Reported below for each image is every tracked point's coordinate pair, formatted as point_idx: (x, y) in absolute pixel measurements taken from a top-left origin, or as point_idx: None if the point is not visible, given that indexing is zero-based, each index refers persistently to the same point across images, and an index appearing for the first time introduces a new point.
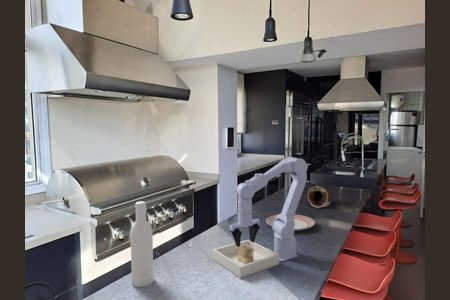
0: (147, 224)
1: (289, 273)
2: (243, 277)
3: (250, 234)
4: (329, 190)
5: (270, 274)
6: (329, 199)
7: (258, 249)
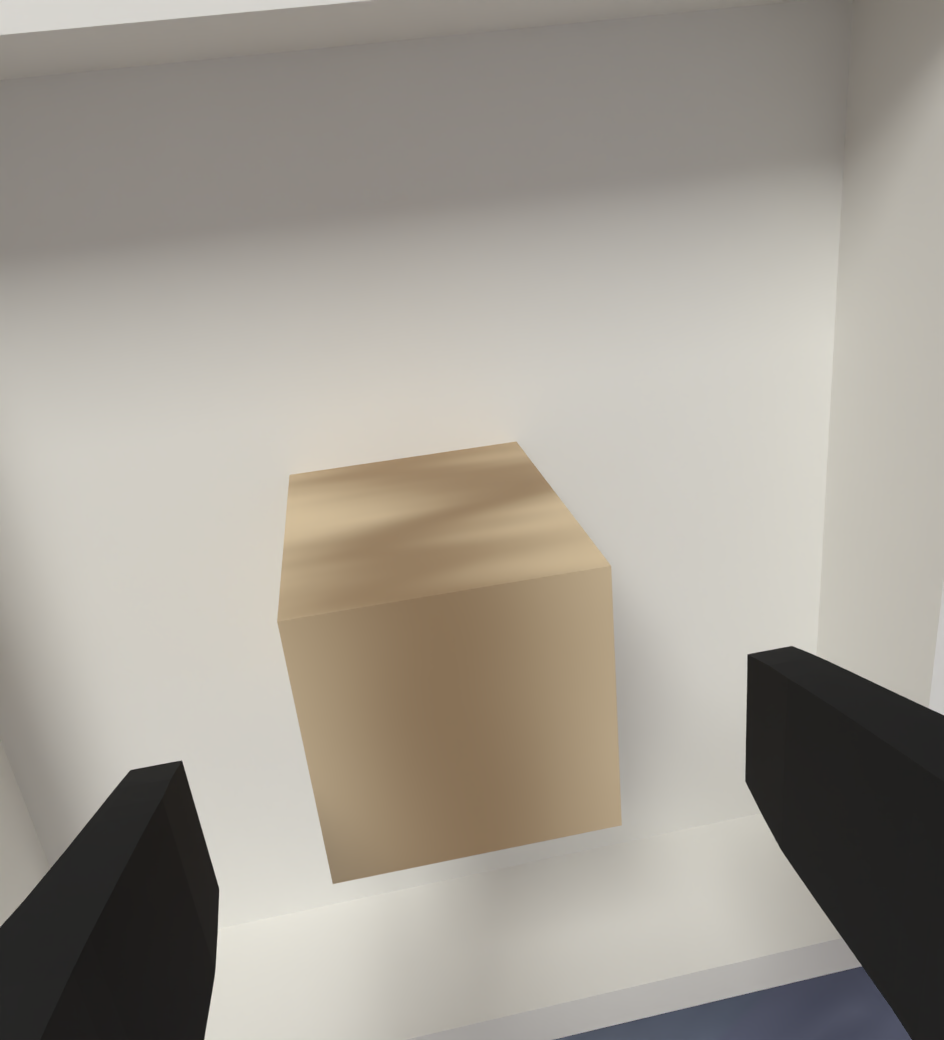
0: None
1: (763, 1017)
2: None
3: (903, 813)
4: None
5: None
6: None
7: (893, 416)
